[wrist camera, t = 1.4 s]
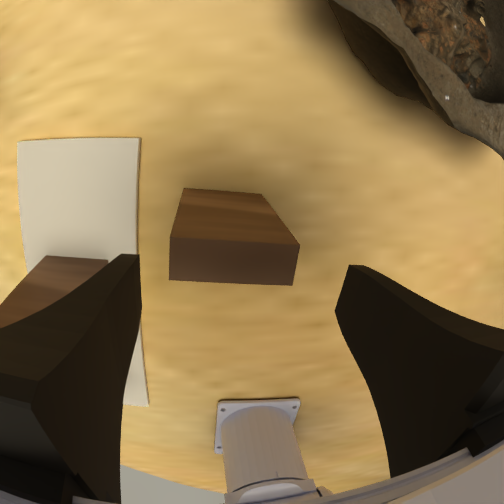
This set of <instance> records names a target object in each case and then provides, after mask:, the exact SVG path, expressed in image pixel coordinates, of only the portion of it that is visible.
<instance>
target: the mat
mask: <svg viewBox="0 0 504 504" xmlns="http://www.w3.org/2000/svg"><path fill="white" fill-rule="evenodd" d="M140 142H141V138H113V137H107V138H62V139H43V140H28V141H19V142H17V176H18V197H19V211H20V222H21V231H22V240H23V247H24V254H25V261H26V267H27V272H28V273H29V272H30V271H31V270H32V269H33V268H34V267H35V266H36V265H37V264H38V263H39V262H40V261H41V260H42V259H43V258H44V257H45V256H46V255H50V256H63V257H77V258H91V259H106V260H108V263H109V262H111V261H112V260H113V259H114V258H116V257H117V256H118V255H120V254H121V253H122V254H137V206H138V175H139V157H140ZM123 404H124V405H133V406H144V407H149V398H148V390H147V382H146V374H145V365H144V356H143V346H142V334H141V321H140V325H139V332H138V336H137V340H136V344H135V348H134V352H133V356H132V360H131V364H130V368H129V373H128V377H127V381H126V386H125V391H124V398H123Z"/></svg>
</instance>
